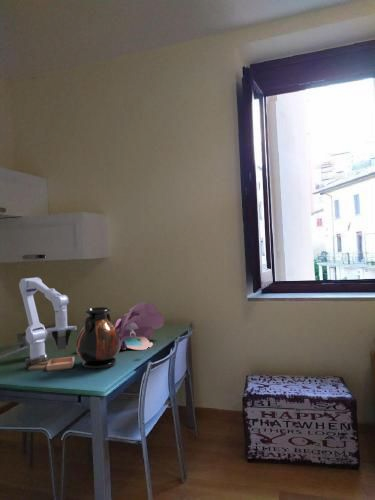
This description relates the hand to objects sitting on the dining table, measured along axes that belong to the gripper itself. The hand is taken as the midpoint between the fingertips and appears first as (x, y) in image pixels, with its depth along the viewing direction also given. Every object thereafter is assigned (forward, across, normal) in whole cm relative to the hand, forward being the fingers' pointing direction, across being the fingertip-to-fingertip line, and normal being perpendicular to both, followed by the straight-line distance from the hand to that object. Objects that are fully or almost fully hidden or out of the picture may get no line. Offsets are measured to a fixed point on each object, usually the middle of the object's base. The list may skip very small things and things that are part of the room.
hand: (62, 345), depth 179 cm
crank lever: (+8, -13, 0) cm, 15 cm away
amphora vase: (+9, +19, -11) cm, 24 cm away
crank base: (+9, -11, -2) cm, 14 cm away
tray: (+9, 0, -6) cm, 11 cm away
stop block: (+2, 0, 0) cm, 2 cm away
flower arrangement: (+9, +39, +19) cm, 45 cm away
